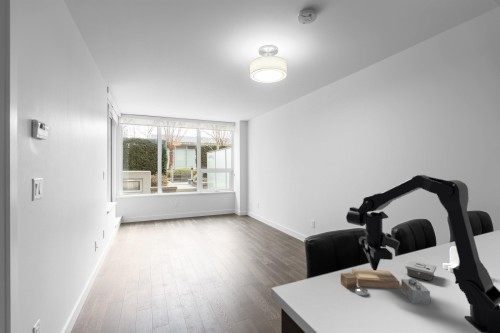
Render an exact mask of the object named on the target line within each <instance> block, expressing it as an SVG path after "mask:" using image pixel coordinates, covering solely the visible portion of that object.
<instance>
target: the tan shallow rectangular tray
mask: <svg viewBox="0 0 500 333" xmlns="http://www.w3.org/2000/svg"><path fill="white" fill-rule="evenodd" d="M351 273H352V274H353V275H354V276H356V277H357V287H373V288H387V289H388V288H389V289H400V280H399V279H398V278H397V277H396V276H395V275H394V274H393V273H392V272H391V271H389V270H373V269H361V268H360V269H359V268H352V269H351Z"/></svg>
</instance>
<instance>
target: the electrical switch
mask: <svg viewBox="0 0 500 333" xmlns="http://www.w3.org/2000/svg"><path fill="white" fill-rule="evenodd" d="M404 268H405V269H406V271H407V273H406V275H407V276H410V277H413V278H417V279H421V280H424V281H425V280H426V281H430V282H431V281H432V279H433V278H434V276H435V275H434V274H435V272H436V271H437V265H435V264H430V263H426V262H421V261H417V260H412V259H409V260H408V261H407V262H406V264H405V265H404Z"/></svg>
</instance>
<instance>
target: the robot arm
mask: <svg viewBox="0 0 500 333" xmlns="http://www.w3.org/2000/svg"><path fill="white" fill-rule="evenodd" d="M420 189H422V190H424V191H427V192H429V193H432V194H435V195H437V198H438V200H439V202H440V204H441V205H442V207H443V208H444V210H445V211H446V213H447V215H448V220H449V224H450V228H451V231H452V236H453V240H454V243H455V244H454V245H455V246H456V249H457V253H458V257H459V265H458V266H457V267H455V268H453V273H452V274H453V275H454V278H455V282H454V283H455V284H456V285H458V287H459V290H460V291H461V292H463V294H464V295H465V297H466V301H467V303H468V304H469V315H464V319H465V320H466V321H468V322H469V323H470V324H471V325H472V326H474V327H475V328H476V329H477V330H478V331H480V332H481V333H500V290H499V289H498V288H497V287H496V286H495V285H494V282H493V280H492V278H491V276H490V274H489V272H488V269H487V267H485V266H484V264H483V263H482V261H481V259H480V257H479V256H480V255H479V252H478V248H477V244H476V240H475V237H474V233H473V229H472V225H471V221H470V218H469V214H468V204H469V188H468V186H467V184H466V183H465V182H463V181H461V180H457V179H453V180H446V179H442V178H437V177H432V176H427V175H426V174H416V175H414V176H412V178H409V179H407V180H406V181H404V182H401V183H399V184H397V185H395V186H393V187H391V188H389V189H387V190H385V191H383V192H379V193H374V194H371V195H367V196H365V197H364V198H362V203H361V204H360V206H359V207H358V208H357V207H354V206H351V207H349V210H348V211H347V214H346V216H345V218H346V221H347V223H348V224H351V225H355V226H360V227H364V226H365V228H364V229H363V232H364V233H365V236H360V237H359V238H358V243H359V245H361V246H363V245H364V247H362V249H363V251H364V253H365V255H366V258H367V260H368V263H369V264H370V267H371V270H377V269H378V266H379V264H380V261H381V260H390V261H391V260H393V253H392V252H391V251H390V250H389V249H388V248H387V247H389V248H390V249H393V250H394V251H398V249H399V246H400V244H401V242H400V241H399V240H397V239H396V238H393V235H392V234H391V233H388V232H384V231H383V219H384V220H385V219H389V215H387V214H386V213H385V211H383V209H385V208H387V207H388V206H389V205H390V204H391V203H392V202H393V201H396V200H397V199H400V198H402V197H404V196H406V195H409V194H411V193H413V192H416V191H418V190H420ZM375 211H376V212H375ZM377 211H379V212H377Z"/></svg>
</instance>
